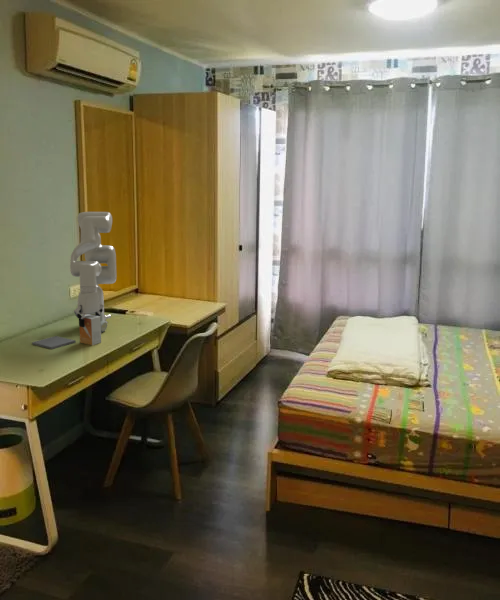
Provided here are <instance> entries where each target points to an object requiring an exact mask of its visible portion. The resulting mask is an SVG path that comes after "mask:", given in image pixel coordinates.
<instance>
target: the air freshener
mask: <svg viewBox="0 0 500 600" xmlns="http://www.w3.org/2000/svg"><path fill="white" fill-rule="evenodd" d="M90 315H96V314H95V313H90ZM100 321H101V334H103V332H105V331H106V330H107V328H108V322H107V323H106V322H105V321H104V320H103V319H102V312H101V315H100Z"/></svg>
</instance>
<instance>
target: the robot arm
mask: <svg viewBox="0 0 500 600" xmlns="http://www.w3.org/2000/svg"><path fill="white" fill-rule="evenodd" d="M76 219H77V223H78V226H79V228H80V242H79V243H78V245H76V246H75V247H74V249H73V251H71V255H70V259H69V260H70V261H69V262H70V265H69V267H70V268H69V270H70V274H71V275H72V276H73V277H78V278H79V293H78V296H77V307H76V308H75V309H74V310H73V313H74V315H75V316H76V318H77V319H78V326H79V327H85V321H84V319H83V318H84V316H85V315H88V314H89V315H90V313H95V314H96V315H95V316H100V315H101V312H102V319H103V320H104V321H105V322H106V323H107V324H108V321H107V320H108V319H111V317H112V315H111V314H105V301H104V298H105V297H104V291H103V288H102V287H101V286H100V285H104V284H105V285H111V284H115V283H116V281H117V277H118V276H117V254H116V248H115V247H114V246H112V245H104V244H102V238H101V237H102V236H101V234H102V233H103V234H107V233H110V232H111V230H112V225H113V215H112V214H111V212H109V211H83V212H79V213H78V214H77V218H76ZM82 255H84V259H85V260H78V258H79V257H80V256H82ZM102 264H106V265H102Z"/></svg>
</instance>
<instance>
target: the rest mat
mask: <svg viewBox="0 0 500 600" xmlns="http://www.w3.org/2000/svg"><path fill="white" fill-rule="evenodd" d="M76 342H77V341H76V340H75V339H71V338H67V337H62V336H58V335H54V336H51V337H47V338H43V339H40V340H35V341H32V342H31V345H33V346H37V347H40V348H41V347H42V348H45V349H48V350H53V349H58V348H62V347H64V346H69V345H72V344H76Z"/></svg>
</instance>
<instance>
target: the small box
mask: <svg viewBox="0 0 500 600" xmlns="http://www.w3.org/2000/svg"><path fill="white" fill-rule="evenodd" d="M83 319H84V321H85V327H79V343H80V344H85V345H89V346H95V345H97V344H100V343H102V333H101V321H100V316H95V315H89V314H88V315H86V314H85V316H84V318H83Z"/></svg>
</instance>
